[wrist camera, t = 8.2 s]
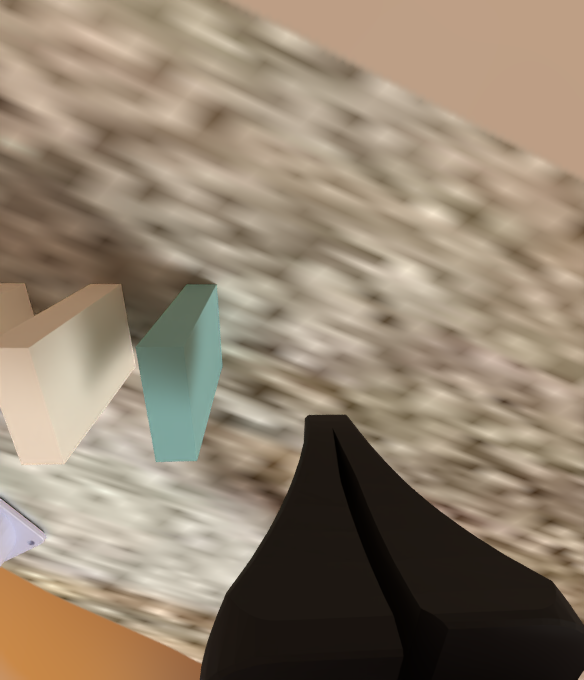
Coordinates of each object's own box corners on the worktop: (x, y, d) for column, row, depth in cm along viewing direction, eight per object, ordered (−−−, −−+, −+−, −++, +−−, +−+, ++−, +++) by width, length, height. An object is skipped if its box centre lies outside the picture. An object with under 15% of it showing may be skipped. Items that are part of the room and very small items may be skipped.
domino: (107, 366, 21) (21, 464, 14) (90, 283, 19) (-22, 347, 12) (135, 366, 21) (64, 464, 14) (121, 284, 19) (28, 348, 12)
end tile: (195, 366, 21) (155, 461, 14) (186, 284, 19) (135, 347, 12) (222, 365, 22) (196, 460, 14) (216, 284, 20) (183, 347, 12)
